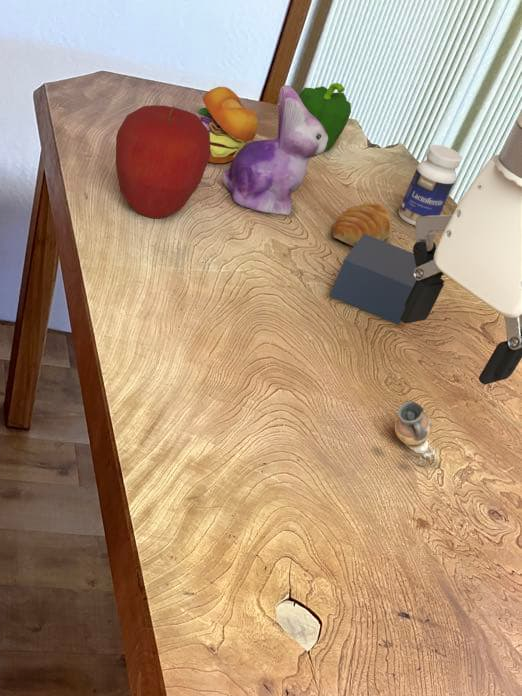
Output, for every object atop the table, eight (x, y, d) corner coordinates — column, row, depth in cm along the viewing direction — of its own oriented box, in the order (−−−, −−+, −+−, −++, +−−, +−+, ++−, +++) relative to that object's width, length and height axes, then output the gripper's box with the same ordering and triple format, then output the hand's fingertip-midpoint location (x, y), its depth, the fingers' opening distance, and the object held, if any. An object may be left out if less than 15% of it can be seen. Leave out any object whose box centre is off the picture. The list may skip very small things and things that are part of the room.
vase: (393, 472, 86) (419, 423, 82) (362, 436, 90) (386, 388, 85) (436, 464, 88) (463, 417, 84) (404, 430, 92) (429, 382, 88)
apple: (175, 190, 122) (200, 89, 113) (207, 233, 115) (236, 128, 106) (93, 187, 118) (111, 81, 109) (120, 231, 111) (142, 121, 102)
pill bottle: (398, 222, 129) (427, 154, 122) (395, 206, 133) (424, 139, 126) (436, 232, 129) (468, 164, 122) (433, 216, 133) (463, 149, 126)
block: (349, 269, 115) (364, 233, 112) (415, 296, 114) (432, 260, 110) (329, 296, 109) (344, 258, 106) (398, 324, 107) (415, 287, 104)
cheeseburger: (173, 129, 138) (205, 66, 131) (234, 162, 140) (268, 102, 133) (167, 153, 130) (200, 87, 124) (232, 187, 132) (267, 124, 126)
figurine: (309, 215, 125) (348, 104, 114) (249, 218, 121) (284, 103, 110) (273, 184, 130) (307, 75, 120) (214, 186, 126) (245, 73, 115)
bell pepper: (281, 130, 147) (301, 65, 140) (327, 137, 148) (349, 74, 141) (293, 152, 141) (314, 85, 134) (341, 159, 142) (365, 94, 136)
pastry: (359, 256, 119) (370, 229, 116) (317, 234, 121) (327, 207, 118) (391, 239, 124) (402, 213, 122) (350, 218, 127) (360, 192, 124)
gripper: (673, 211, 66) (550, 398, 78) (496, 113, 75) (410, 294, 87) (617, 219, 62) (497, 414, 74) (439, 115, 71) (357, 304, 83)
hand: (450, 349), depth 80 cm, fingers open, 9 cm apart
